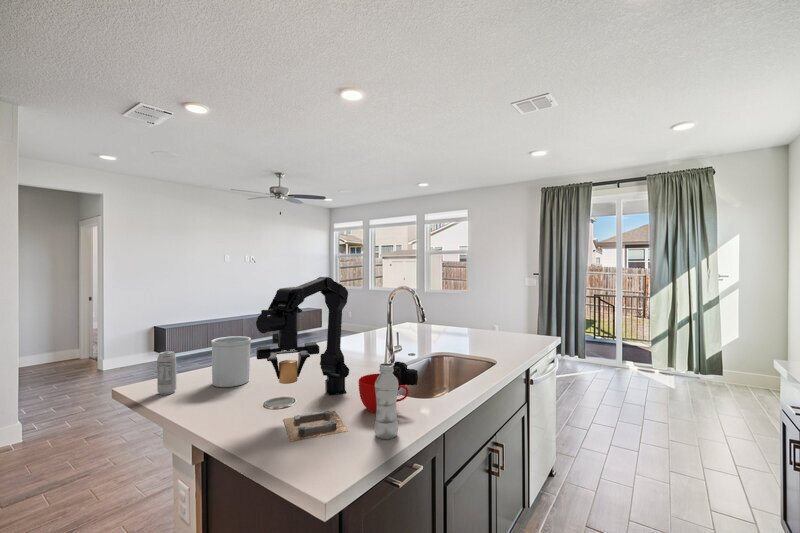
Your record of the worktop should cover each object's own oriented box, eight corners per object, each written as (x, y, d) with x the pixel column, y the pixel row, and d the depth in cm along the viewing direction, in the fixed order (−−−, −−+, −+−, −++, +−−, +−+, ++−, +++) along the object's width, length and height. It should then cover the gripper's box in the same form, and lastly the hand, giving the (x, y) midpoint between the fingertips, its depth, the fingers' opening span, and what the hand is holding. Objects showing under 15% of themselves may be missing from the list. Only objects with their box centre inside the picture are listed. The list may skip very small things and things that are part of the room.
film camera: (413, 392, 139) (413, 368, 139) (388, 390, 141) (388, 367, 141) (419, 380, 154) (419, 358, 154) (396, 378, 156) (396, 357, 156)
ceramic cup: (401, 422, 113) (401, 389, 113) (351, 414, 119) (351, 383, 118) (414, 406, 125) (414, 376, 125) (368, 400, 131) (368, 371, 131)
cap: (296, 377, 121) (296, 359, 121) (298, 382, 116) (298, 363, 116) (278, 379, 119) (278, 360, 119) (279, 384, 114) (279, 365, 114)
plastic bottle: (373, 432, 106) (373, 362, 106) (397, 431, 106) (397, 361, 106) (374, 443, 99) (374, 368, 99) (399, 442, 100) (399, 367, 100)
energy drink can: (180, 390, 142) (179, 350, 142) (168, 395, 136) (168, 354, 136) (165, 389, 143) (165, 350, 142) (153, 395, 137) (153, 354, 137)
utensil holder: (238, 374, 162) (238, 334, 162) (258, 380, 153) (258, 338, 153) (204, 383, 150) (204, 340, 150) (223, 390, 141) (223, 344, 141)
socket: (335, 412, 120) (335, 406, 120) (348, 432, 106) (348, 425, 106) (283, 420, 114) (283, 414, 114) (290, 443, 99) (290, 436, 99)
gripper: (313, 322, 129) (313, 367, 129) (255, 326, 121) (255, 374, 121) (319, 327, 118) (319, 376, 118) (256, 332, 111) (257, 384, 111)
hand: (288, 377), depth 118 cm, fingers closed on cap, 6 cm apart
